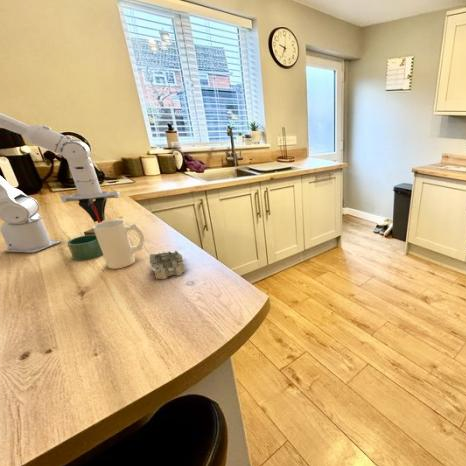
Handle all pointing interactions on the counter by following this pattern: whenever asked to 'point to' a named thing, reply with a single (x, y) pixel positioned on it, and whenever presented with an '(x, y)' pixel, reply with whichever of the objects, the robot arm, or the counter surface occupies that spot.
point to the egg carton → (166, 264)
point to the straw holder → (89, 232)
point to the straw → (96, 213)
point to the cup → (85, 247)
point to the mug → (117, 242)
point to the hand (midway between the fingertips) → (99, 220)
